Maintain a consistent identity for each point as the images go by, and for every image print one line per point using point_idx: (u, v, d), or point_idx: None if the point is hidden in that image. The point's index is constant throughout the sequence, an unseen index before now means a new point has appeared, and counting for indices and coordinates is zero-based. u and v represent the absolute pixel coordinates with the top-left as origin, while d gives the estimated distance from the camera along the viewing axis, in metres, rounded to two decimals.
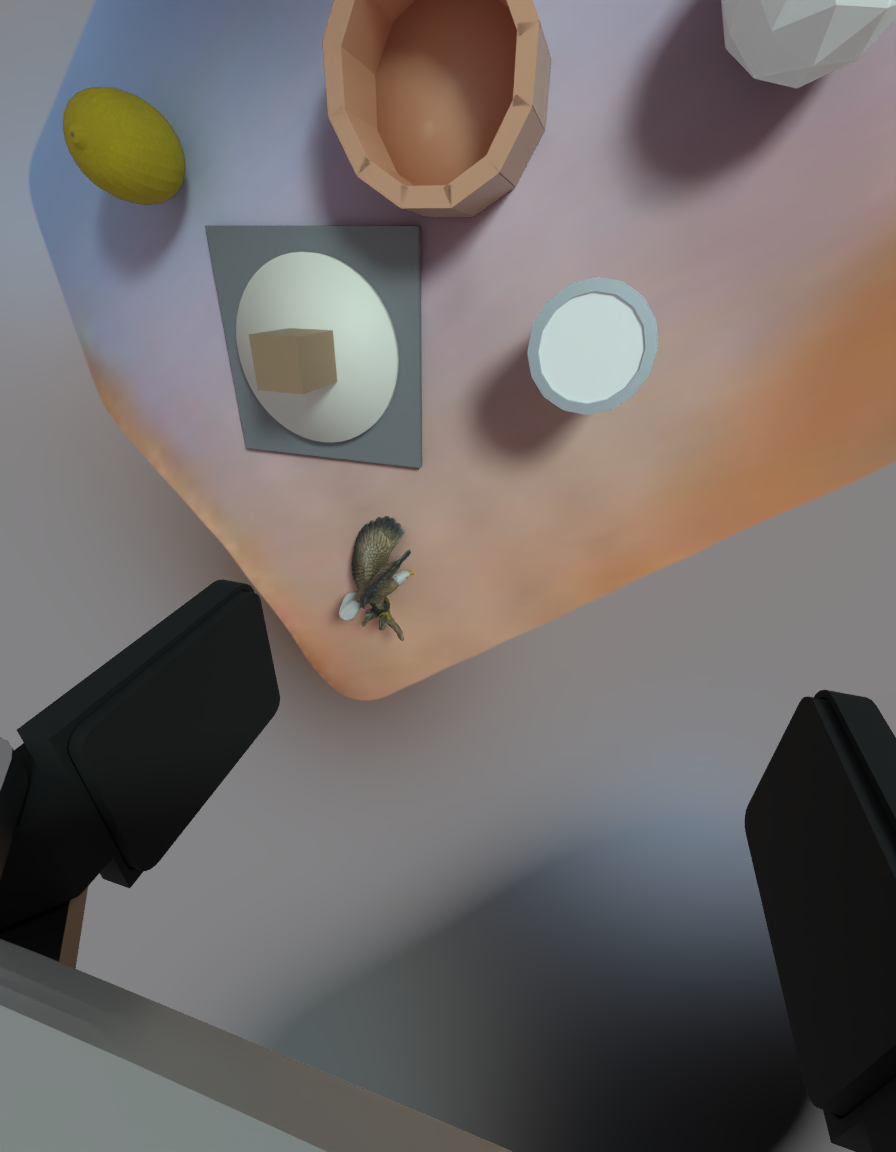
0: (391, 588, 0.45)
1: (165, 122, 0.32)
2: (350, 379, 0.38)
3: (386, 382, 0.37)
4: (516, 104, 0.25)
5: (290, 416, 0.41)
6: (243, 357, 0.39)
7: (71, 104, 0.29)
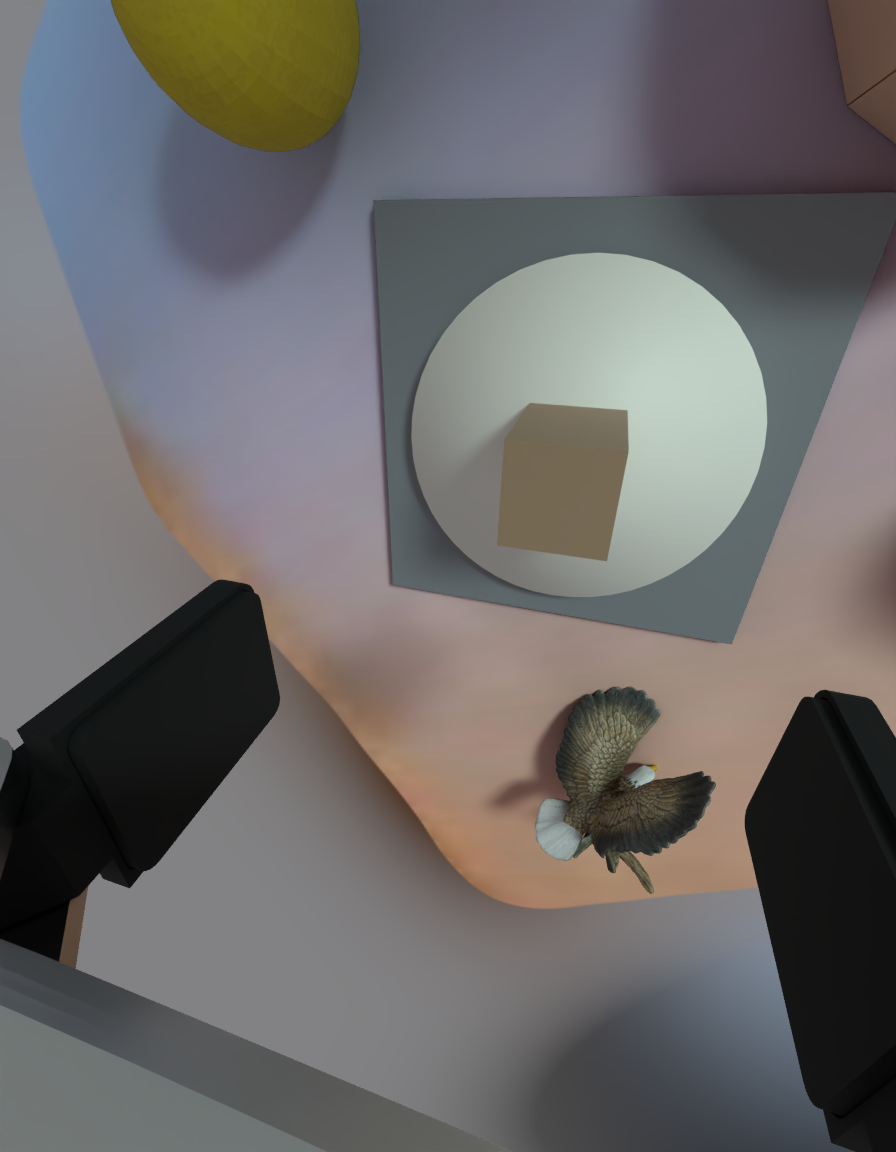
0: None
1: None
2: (640, 499, 0.20)
3: (721, 509, 0.19)
4: None
5: (495, 551, 0.23)
6: (420, 450, 0.21)
7: None
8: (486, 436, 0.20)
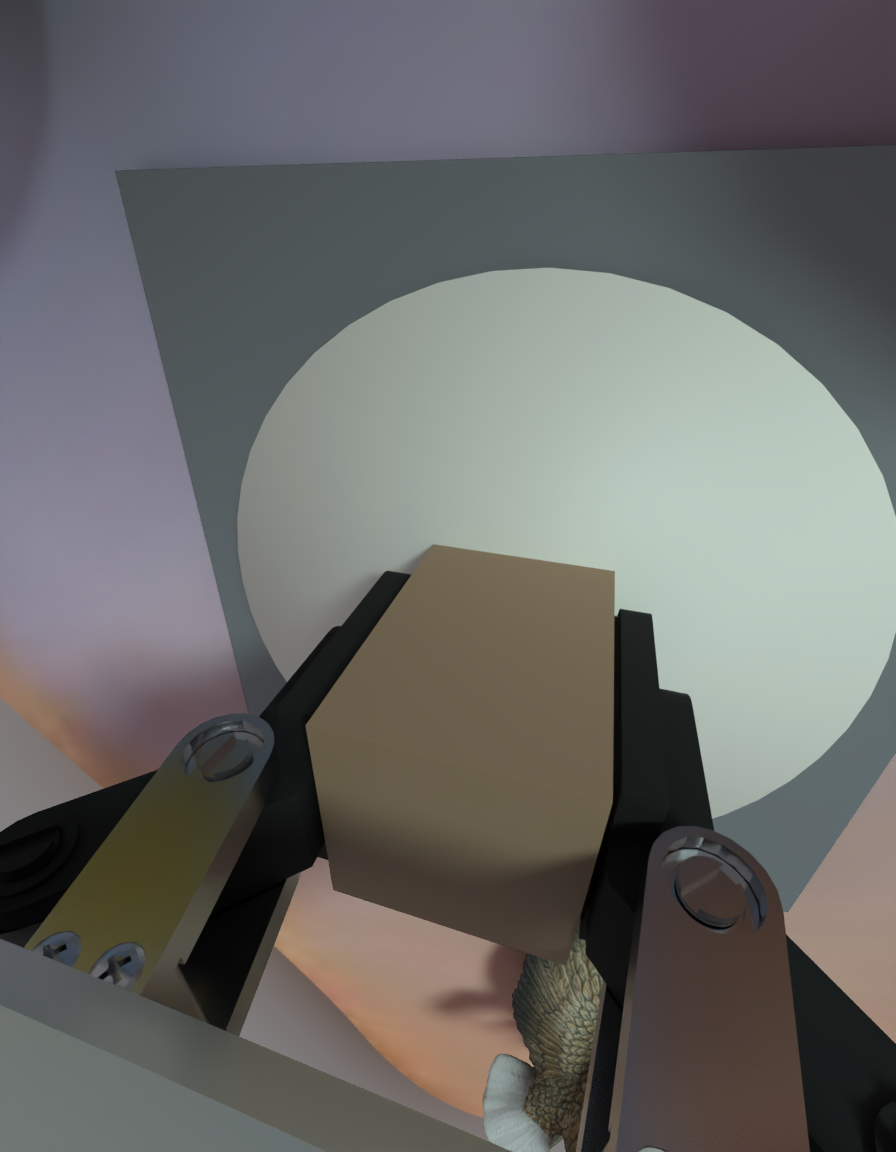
0: None
1: None
2: None
3: (791, 745, 0.10)
4: None
5: None
6: (260, 601, 0.12)
7: None
8: (364, 591, 0.11)
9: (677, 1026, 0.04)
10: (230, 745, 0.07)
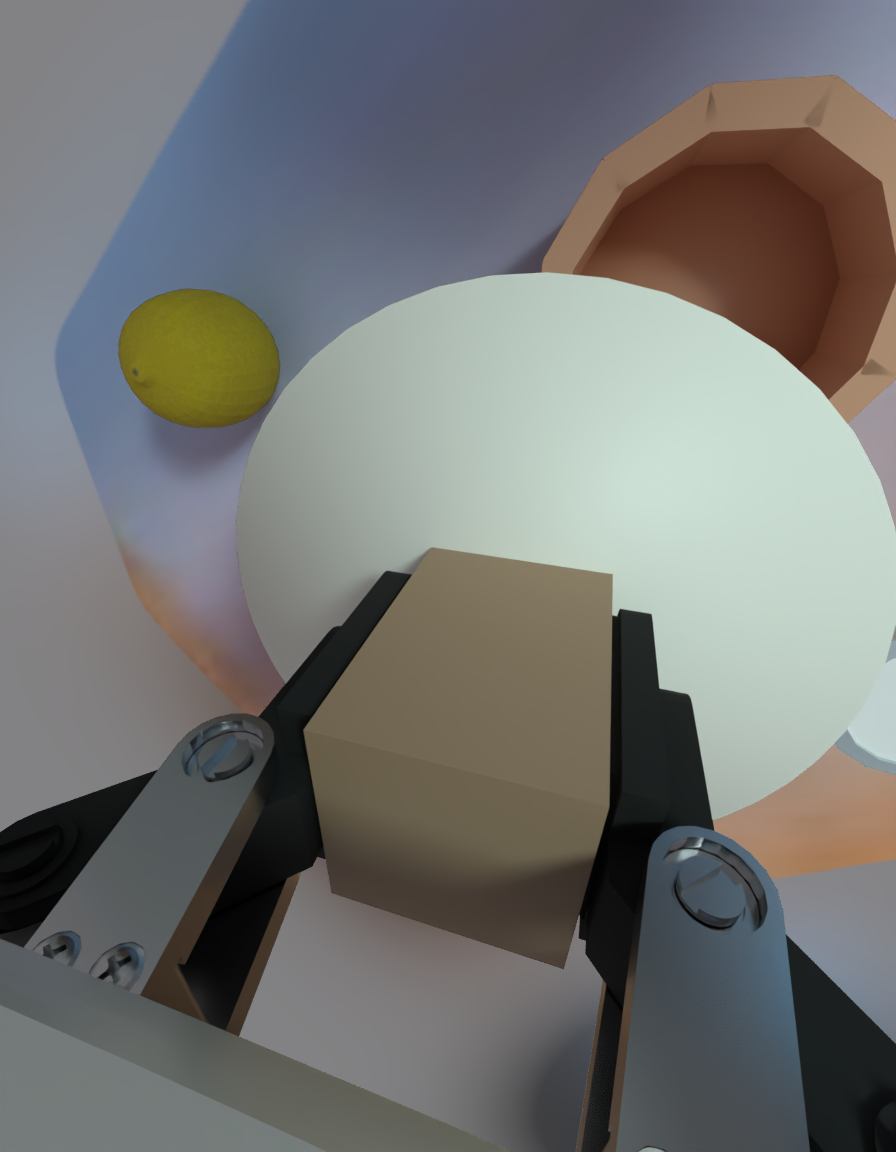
0: None
1: (260, 325, 0.22)
2: None
3: (789, 748, 0.10)
4: (868, 372, 0.16)
5: None
6: (259, 604, 0.12)
7: (133, 326, 0.19)
8: (362, 593, 0.11)
9: (677, 1026, 0.04)
10: (230, 745, 0.07)
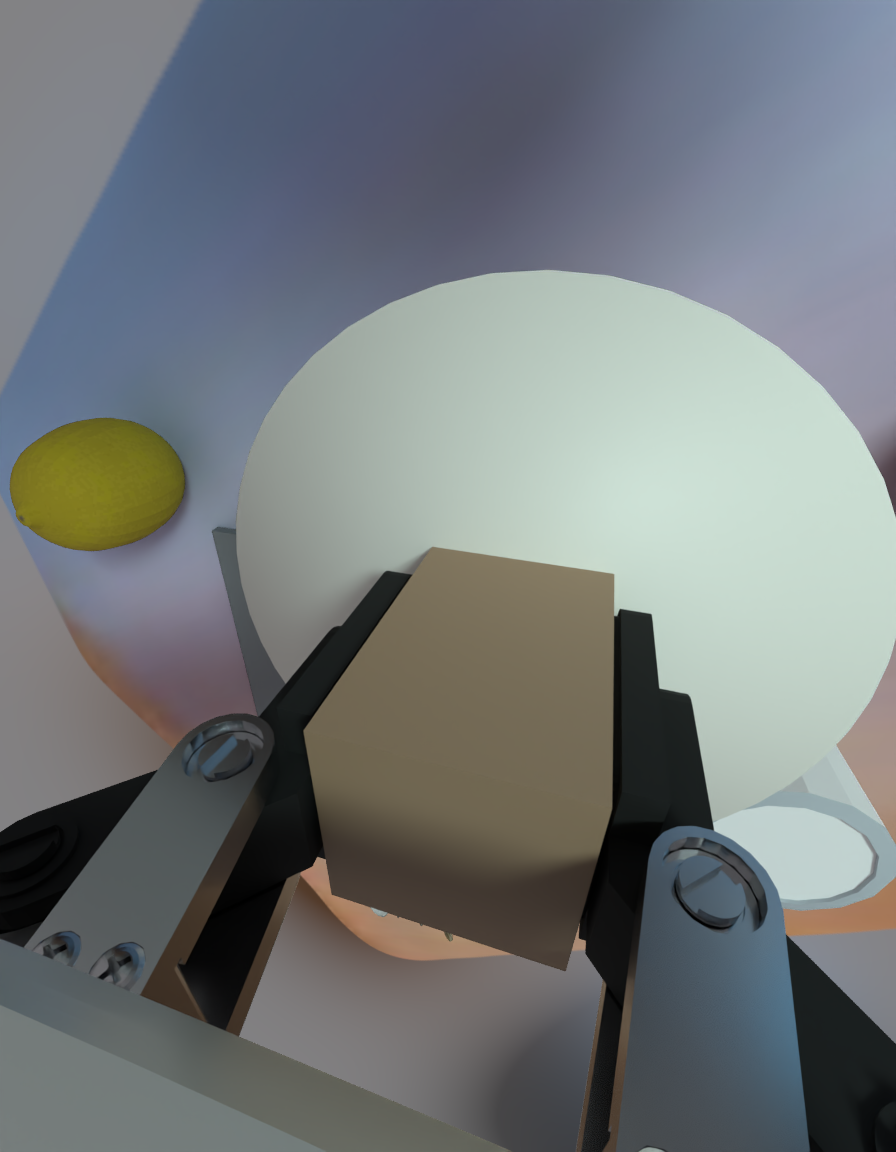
0: None
1: (156, 450, 0.23)
2: None
3: (791, 748, 0.10)
4: None
5: None
6: (259, 604, 0.12)
7: (19, 473, 0.20)
8: (363, 593, 0.11)
9: (677, 1026, 0.04)
10: (230, 745, 0.07)
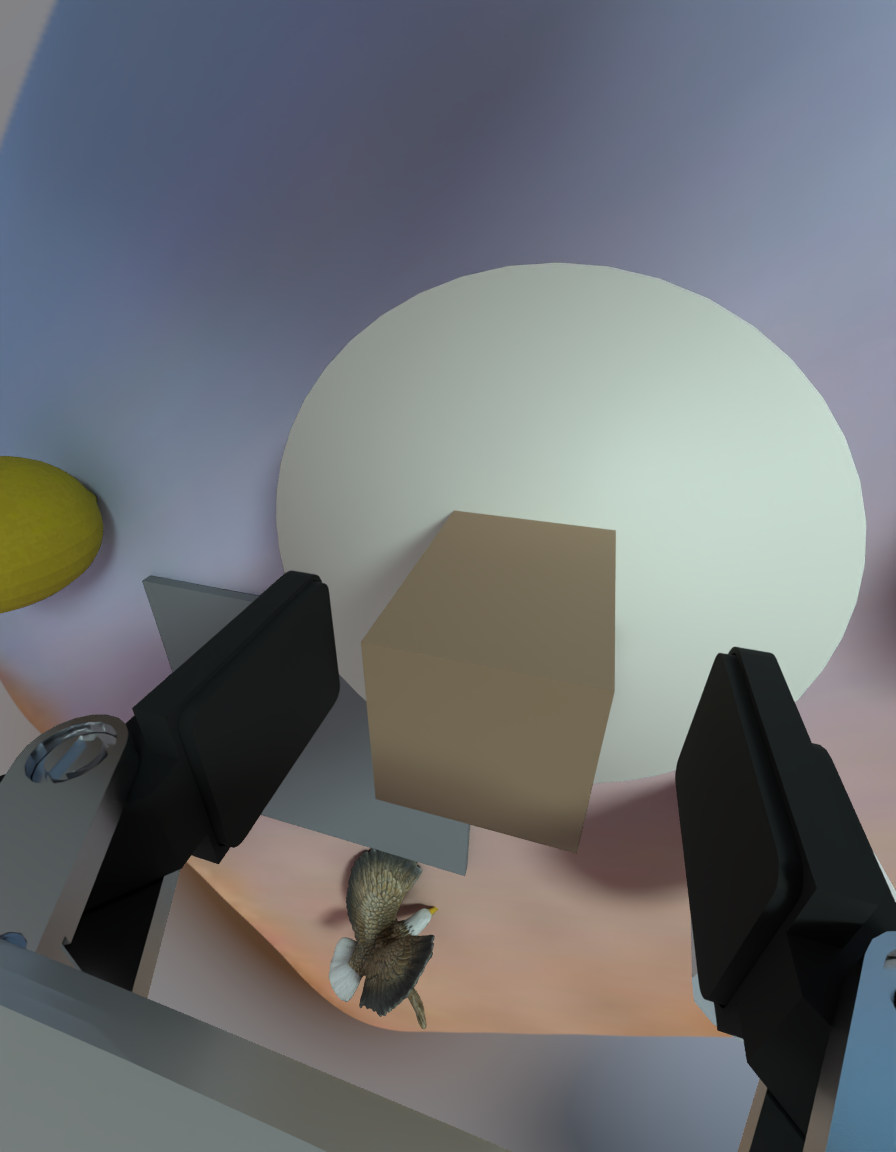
0: None
1: (59, 496, 0.19)
2: (639, 662, 0.12)
3: None
4: None
5: None
6: (295, 569, 0.14)
7: None
8: (390, 555, 0.13)
9: None
10: (78, 748, 0.06)
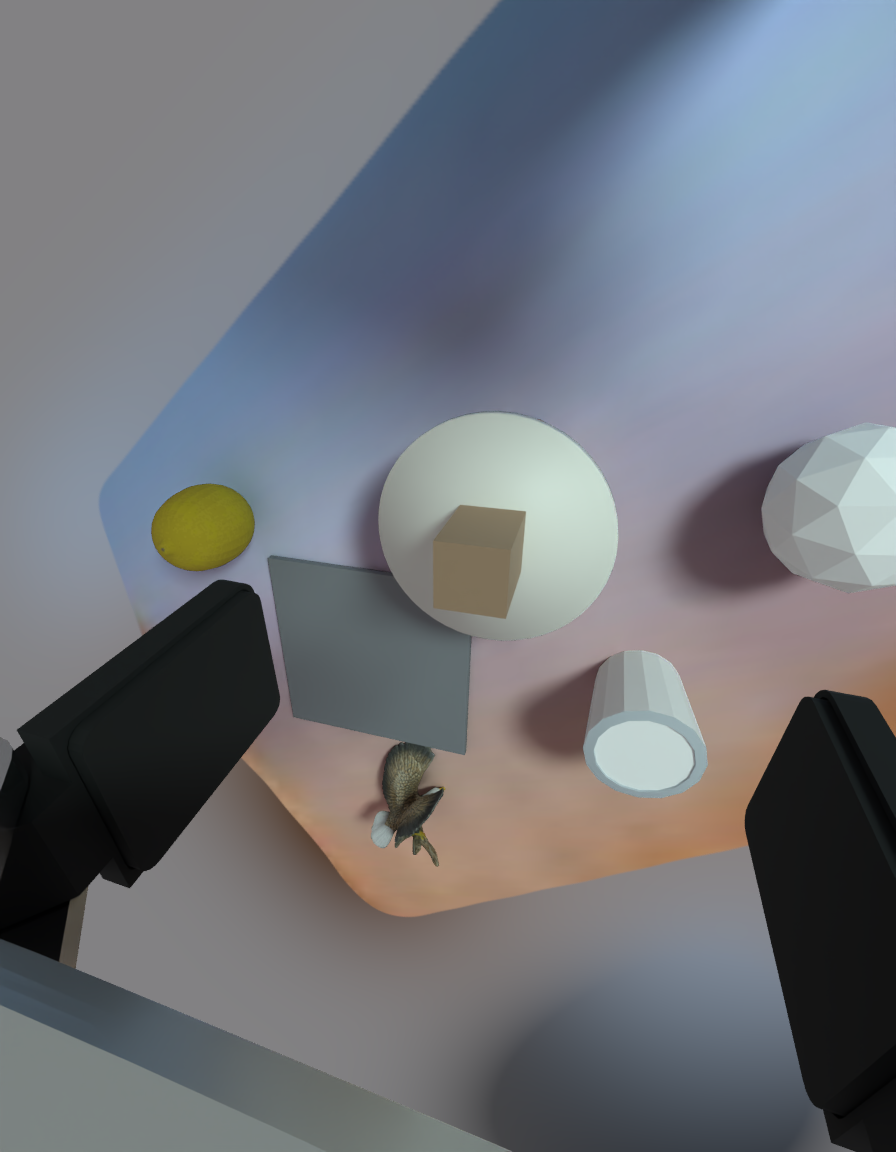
0: None
1: (241, 505, 0.34)
2: (541, 570, 0.27)
3: (596, 577, 0.27)
4: None
5: None
6: (385, 534, 0.29)
7: (162, 521, 0.31)
8: (431, 526, 0.28)
9: None
10: None
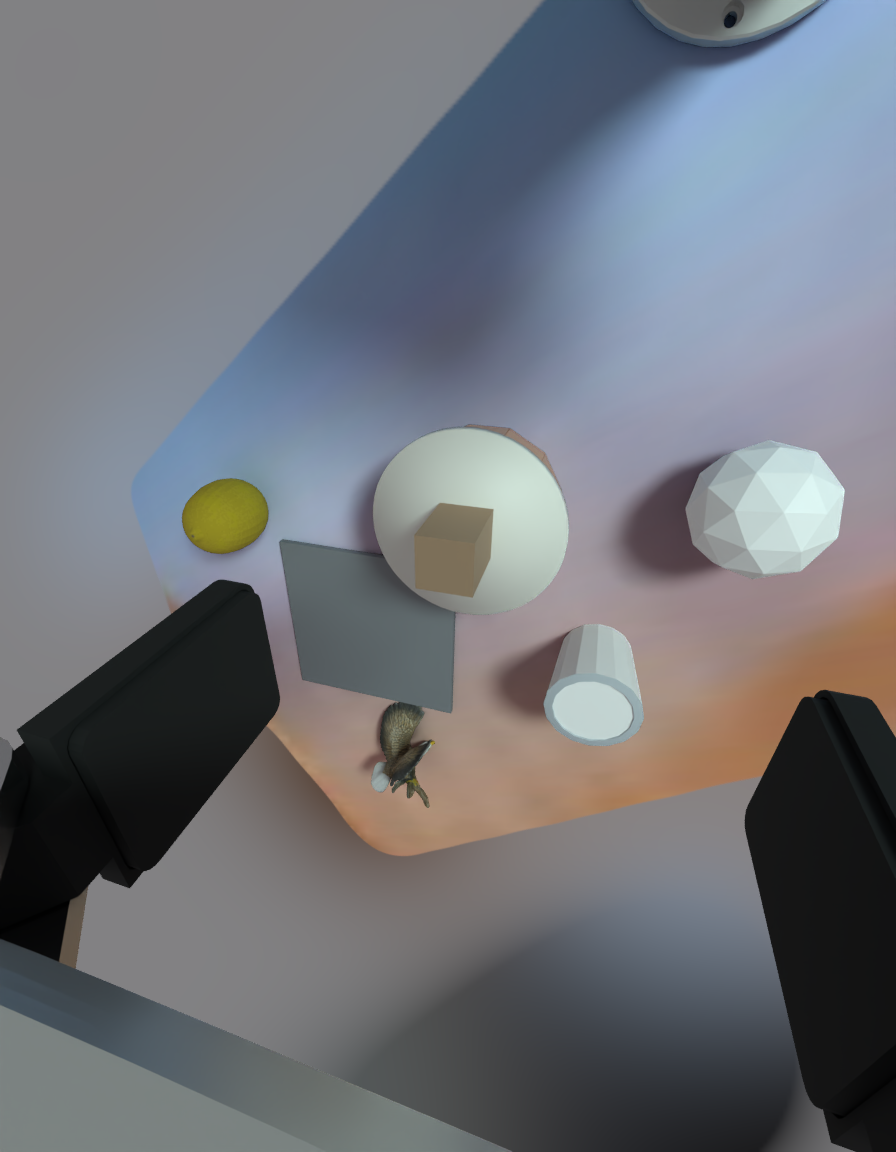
0: None
1: (257, 497, 0.40)
2: (507, 557, 0.33)
3: (551, 564, 0.33)
4: None
5: None
6: (379, 526, 0.35)
7: (191, 512, 0.37)
8: (416, 519, 0.34)
9: None
10: None
